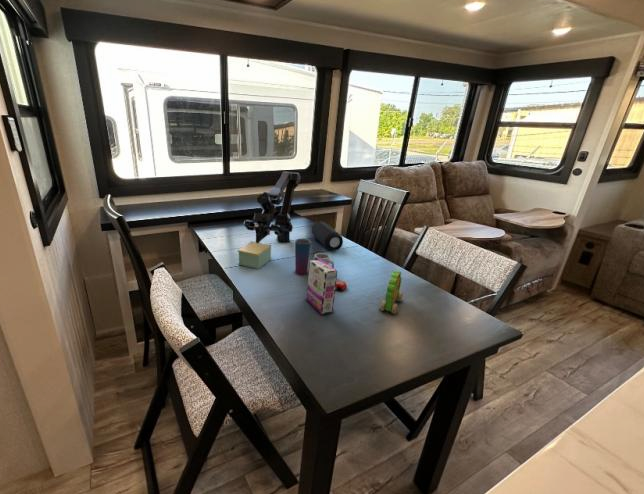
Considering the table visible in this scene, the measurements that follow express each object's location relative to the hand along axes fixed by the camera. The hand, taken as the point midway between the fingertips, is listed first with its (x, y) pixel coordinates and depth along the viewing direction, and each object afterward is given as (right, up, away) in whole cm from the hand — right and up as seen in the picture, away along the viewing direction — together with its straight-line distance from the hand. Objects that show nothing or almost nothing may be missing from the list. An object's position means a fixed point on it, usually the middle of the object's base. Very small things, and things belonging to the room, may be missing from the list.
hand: (256, 243), depth 148 cm
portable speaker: (+37, 0, +27) cm, 46 cm away
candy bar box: (+25, -24, -33) cm, 48 cm away
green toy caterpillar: (+51, -25, -33) cm, 66 cm away
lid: (-1, -3, -1) cm, 3 cm away
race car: (+31, -19, -19) cm, 41 cm away
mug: (+31, -13, -5) cm, 34 cm away
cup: (+20, -14, -8) cm, 26 cm away
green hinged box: (-1, -9, +2) cm, 9 cm away
